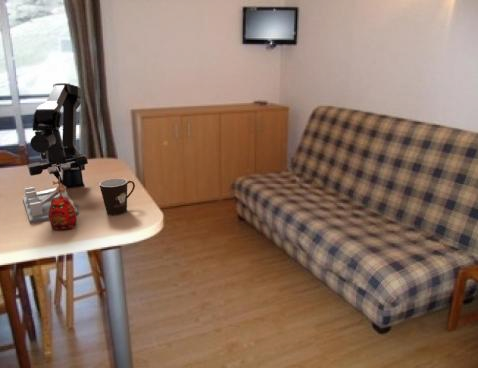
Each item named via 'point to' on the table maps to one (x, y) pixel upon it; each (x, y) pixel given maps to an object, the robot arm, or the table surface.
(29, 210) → the grey stepped panel
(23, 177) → the table surface
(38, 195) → the strap far
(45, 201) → the strap near
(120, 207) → the coffee mug
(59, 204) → the red clay folk toy
